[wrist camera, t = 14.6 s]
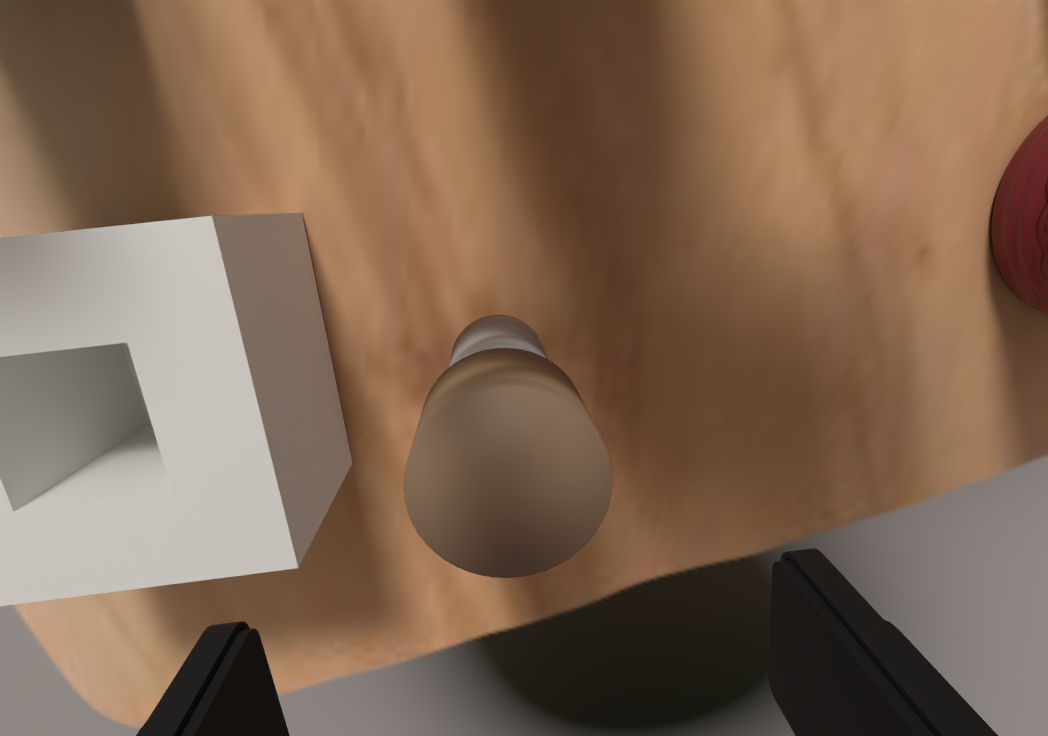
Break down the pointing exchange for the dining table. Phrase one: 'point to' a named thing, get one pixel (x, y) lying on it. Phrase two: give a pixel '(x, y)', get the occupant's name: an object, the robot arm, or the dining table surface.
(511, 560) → the brown rounded piece
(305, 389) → the housing
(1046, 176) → the canister
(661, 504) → the dining table surface
